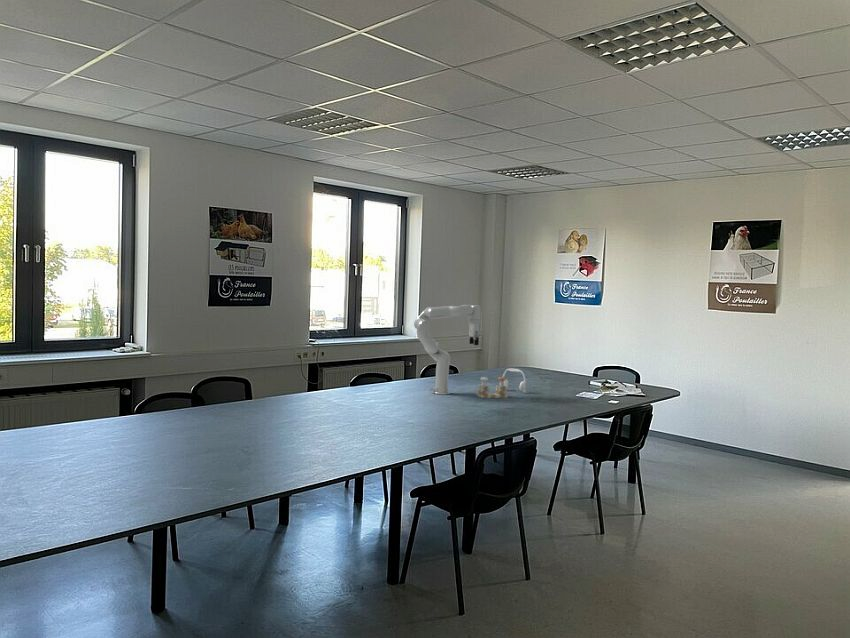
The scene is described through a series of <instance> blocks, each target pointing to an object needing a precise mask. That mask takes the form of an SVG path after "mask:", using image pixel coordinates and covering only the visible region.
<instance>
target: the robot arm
mask: <svg viewBox="0 0 850 638" xmlns="http://www.w3.org/2000/svg"><path fill="white" fill-rule="evenodd" d="M465 316H469V329H468V336H469V344H470V345H474V346H479V342H480V341H479V340H480V339H479V338H480V325H481V306H480V305H478V304H472V305H471V304H462V305H459V306H458V305H456V306H454V305H444V306H443V305H442V306H428V307H426V308H425V309H424V310H423V311H422V312H421V313H420V314H419V315H418V316H417V318H416V319H415V320H414V322H413V326H414V328H415V329H416V337H417V339H418V341H419V342H420V343H421V344H422V345H423V348H424V350H425V352H427V354H428V355H429V356H430V357H431V358H432V359H433V360H434V361H436V367H435V386H434V387H429V388H428V391H431V392H432V394H435V395H445V396H446V395H450V394H451V391H449V378H450V377H449V375H450V373H449V372H450V371H449V370H450V362H451V356H450V354H449V352H448V351H446V350H443V349H442V348H441V346H440V344H439V343H438V342H437V341H436V340H435V339H434V337H433V336H432V335H431V334H430V333H429V322H430V321H431V320H435V319H436V320H437V319H443V318H445V319H446V318H455V317H465Z"/></svg>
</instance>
